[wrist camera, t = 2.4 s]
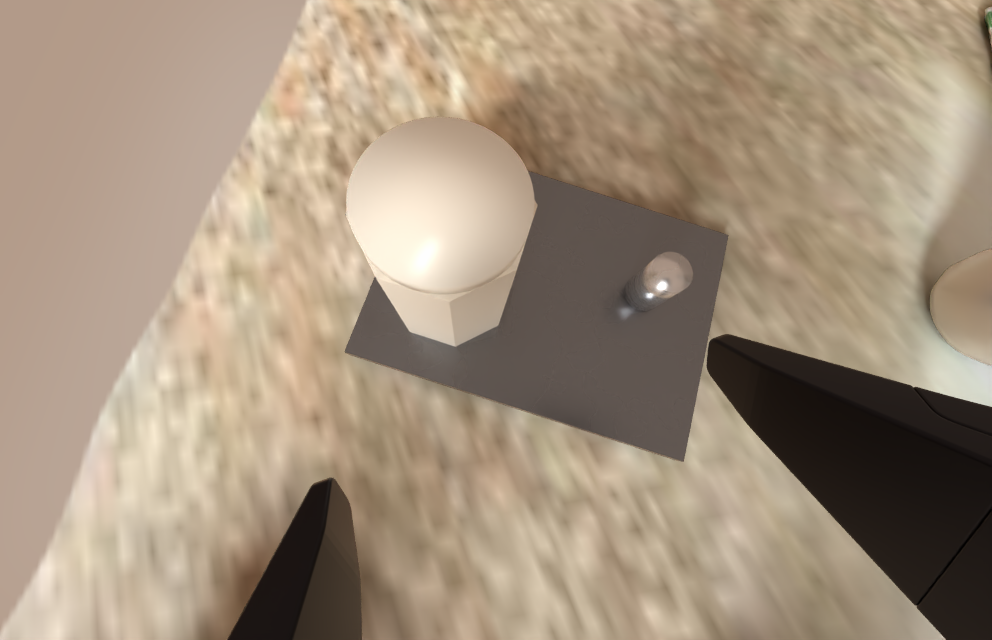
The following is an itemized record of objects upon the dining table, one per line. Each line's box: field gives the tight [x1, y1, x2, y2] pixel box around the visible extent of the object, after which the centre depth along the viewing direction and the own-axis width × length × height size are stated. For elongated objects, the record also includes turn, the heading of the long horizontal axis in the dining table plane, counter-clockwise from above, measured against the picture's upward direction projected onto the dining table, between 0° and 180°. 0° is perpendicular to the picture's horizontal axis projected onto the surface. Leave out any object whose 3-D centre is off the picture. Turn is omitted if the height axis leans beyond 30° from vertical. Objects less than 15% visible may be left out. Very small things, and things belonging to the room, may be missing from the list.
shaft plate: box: [345, 171, 728, 462], centre depth 22 cm, size 18×13×4 cm
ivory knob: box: [345, 117, 538, 347], centre depth 19 cm, size 6×6×10 cm
